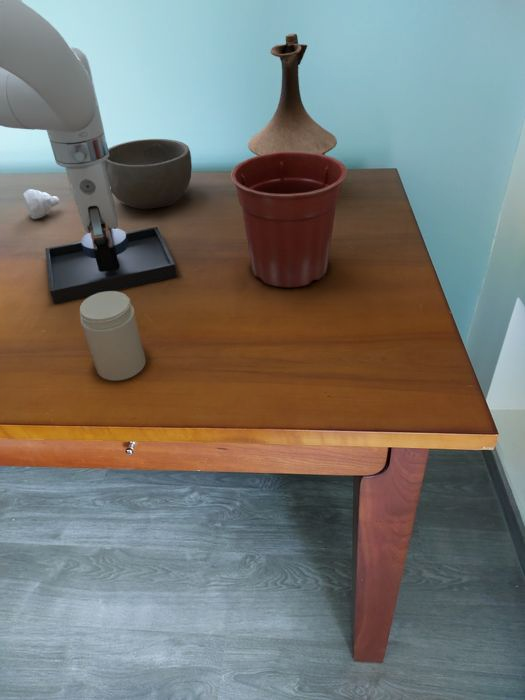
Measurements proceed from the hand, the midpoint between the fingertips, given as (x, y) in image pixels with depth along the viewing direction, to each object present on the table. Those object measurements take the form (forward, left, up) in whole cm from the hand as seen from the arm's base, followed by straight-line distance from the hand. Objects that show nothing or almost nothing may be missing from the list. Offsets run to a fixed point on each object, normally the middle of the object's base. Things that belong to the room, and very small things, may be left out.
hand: (108, 257), depth 86 cm
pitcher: (+39, +15, -2) cm, 42 cm away
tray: (0, 0, -2) cm, 2 cm away
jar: (-2, -25, -2) cm, 25 cm away
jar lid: (0, 0, +3) cm, 3 cm away
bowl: (+12, +24, -2) cm, 27 cm away
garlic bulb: (-9, +26, -2) cm, 28 cm away
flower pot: (+27, -12, -2) cm, 30 cm away
